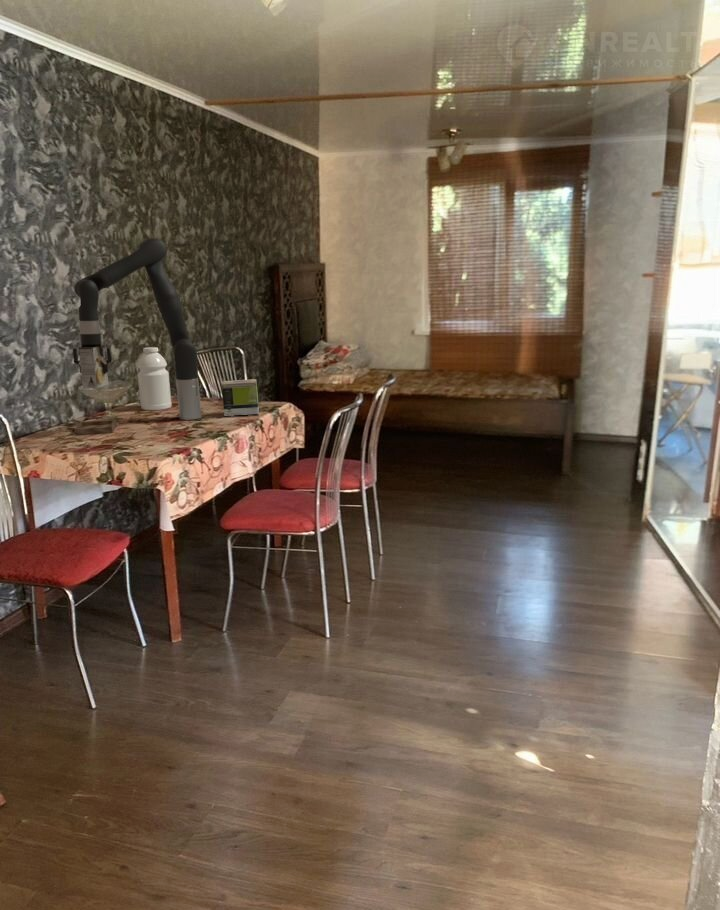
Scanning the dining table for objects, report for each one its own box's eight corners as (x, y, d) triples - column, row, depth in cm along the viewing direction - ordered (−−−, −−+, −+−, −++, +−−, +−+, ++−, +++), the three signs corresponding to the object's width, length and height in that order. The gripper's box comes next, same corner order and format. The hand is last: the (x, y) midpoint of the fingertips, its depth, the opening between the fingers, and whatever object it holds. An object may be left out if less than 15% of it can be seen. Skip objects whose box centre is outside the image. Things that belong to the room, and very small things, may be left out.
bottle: (144, 405, 331) (138, 346, 324) (173, 404, 332) (168, 345, 325) (138, 411, 318) (131, 350, 310) (169, 409, 319) (163, 348, 312)
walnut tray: (116, 425, 288) (115, 419, 288) (112, 432, 275) (111, 426, 274) (81, 427, 285) (80, 422, 285) (75, 435, 272) (74, 429, 272)
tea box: (259, 411, 311) (257, 378, 307) (258, 415, 301) (256, 382, 298) (225, 412, 309) (222, 380, 306) (223, 417, 300) (221, 383, 296)
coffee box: (94, 384, 281) (90, 344, 277) (109, 385, 280) (105, 345, 276) (82, 388, 272) (77, 347, 268) (97, 388, 271) (93, 347, 267)
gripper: (110, 331, 276) (114, 372, 280) (72, 332, 273) (76, 373, 277) (108, 332, 269) (112, 374, 273) (69, 333, 266) (73, 375, 270)
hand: (94, 373), depth 275 cm, fingers closed on coffee box, 8 cm apart
